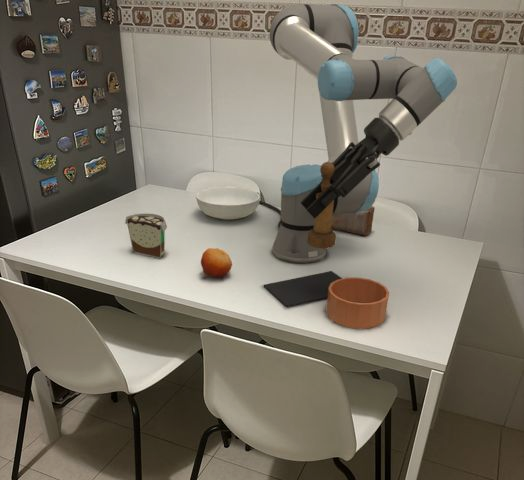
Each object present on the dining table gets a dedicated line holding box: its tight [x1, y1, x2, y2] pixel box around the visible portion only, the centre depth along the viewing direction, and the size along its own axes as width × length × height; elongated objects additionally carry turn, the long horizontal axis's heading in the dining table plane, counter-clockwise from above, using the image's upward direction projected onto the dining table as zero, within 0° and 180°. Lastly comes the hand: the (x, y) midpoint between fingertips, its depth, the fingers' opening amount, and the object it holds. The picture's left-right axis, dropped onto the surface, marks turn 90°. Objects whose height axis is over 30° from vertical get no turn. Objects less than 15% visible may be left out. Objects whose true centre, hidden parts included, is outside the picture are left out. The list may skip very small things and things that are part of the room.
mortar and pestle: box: [307, 161, 337, 249], centre depth 115 cm, size 7×6×18 cm
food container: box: [124, 212, 168, 259], centre depth 143 cm, size 12×6×10 cm, turn 65°
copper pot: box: [325, 276, 390, 330], centre depth 117 cm, size 13×13×6 cm
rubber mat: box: [263, 270, 343, 309], centre depth 128 cm, size 12×20×1 cm, turn 117°
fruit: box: [200, 247, 233, 279], centre depth 132 cm, size 8×8×8 cm
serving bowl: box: [195, 186, 261, 221], centre depth 171 cm, size 21×21×7 cm
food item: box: [331, 205, 375, 236], centre depth 161 cm, size 14×8×10 cm, turn 59°
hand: (307, 210), depth 114 cm, fingers closed on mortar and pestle, 4 cm apart
